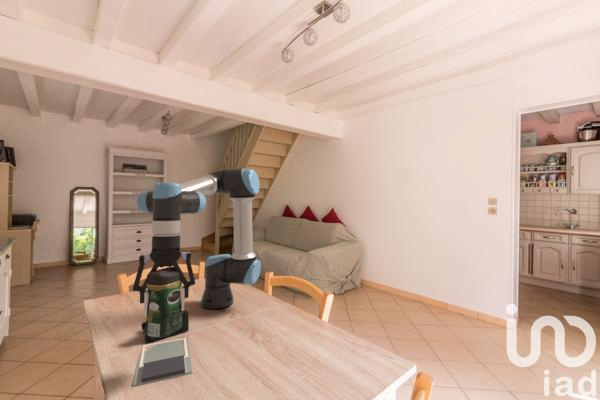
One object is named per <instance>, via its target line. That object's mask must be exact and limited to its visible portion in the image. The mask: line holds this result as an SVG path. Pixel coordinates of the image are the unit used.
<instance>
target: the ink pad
mask: <svg viewBox="0 0 600 400" xmlns="http://www.w3.org/2000/svg"><path fill="white" fill-rule="evenodd" d="M184 373H187V371H186V361H185V358H184V355H182V356H177V357H172V358H167V359H162V360H158V361H153V362H148V363H144V366H143V367H142V372H141V378H140V383H145V382H149V381H153V380H158V379H162V378H166V377H171V376H175V375H179V374H184Z"/></svg>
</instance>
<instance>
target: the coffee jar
mask: <svg viewBox="0 0 600 400" xmlns="http://www.w3.org/2000/svg"><path fill="white" fill-rule="evenodd" d="M181 271H182V272H183V270H182V269H181ZM146 278H147V284H146V286H147V288H146V290H148V310H147V316H146V318H145V322H146V329H145V334H146V335H147V336H148V337H151V338H164V337H166V336H169V335H171V334H173V333H174V332H176V331H178V330H179V329H180V328H181V327H182V311H181V289H182V286H183V283H182V281H181V279H180V273H179V272H176V270H175V269H174V267H173V266H172V267H163V268H161V269H157V270H156V271H153V272H150V271H149V272H148V273H147V275H146ZM145 334H144V335H145Z"/></svg>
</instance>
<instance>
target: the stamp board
mask: <svg viewBox="0 0 600 400" xmlns="http://www.w3.org/2000/svg"><path fill="white" fill-rule="evenodd" d="M189 343H190V342H189V338H188V337H183V338H178V339H177V338H176V339H172V340H171V339H170V340H167V341H160V342H159V341H158V342H153V343H149V344H145V345H142V349H141V354H139V355H138V356H137V357H138V358H137V362H136V368H135V373H134V378H133V382H132V387H136V386H137V387H138V386H141V385H146V384H150V383H155V382H160V381H164V380H168V379H173V378H178V377H182V376H187V375H191V374H193V365H192V360H191V359H192V357H191V351H190V344H189ZM151 346H152V347H151ZM146 347H150V348H149V349H147V350H146ZM182 355H184V358H185V361H186V371H187V373H184V374H179V375H175V376H171V377H166V378H162V379H158V380H153V381H149V382H145V383H140V378H141V372H142V367H143V366H144V363H148V362H153V361H158V360H162V359H167V358H172V357H177V356H182Z"/></svg>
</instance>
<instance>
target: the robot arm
mask: <svg viewBox="0 0 600 400" xmlns="http://www.w3.org/2000/svg"><path fill="white" fill-rule="evenodd" d="M260 187H261V186H260V179H259V176H258V173H257V172H256V171H255V170H254V169H252V168H224V169H223V168H222V169H218V170H214V171H211V172H208V173H204V174H202V175H201V176H200V177H198V178H196V179H192V180H188V181H185V182H181V183H178V182H166V181H165V182H164V181H163V182H156V183H154V184H153V190H144V191H141V192H140V193H139V194H138V195H137V197H136V205H137V208H138V210H139V211H140V212H142V213H149V214H152V220H151V221H152V222H151V225H152V226H151V234H152V235H153V236H152V237H151V251H150V253H148V254H144V253H142V254H140V255H139V257H138V261H139V265H138V269H137V272H136V275H135V279H134V282H133V286H132V291H133V292H138V293H139V303H140V304H143V308H144V309H143V316H144V317H147V310H148V289H147V286H146V284H147V277H146V278H145V280H144V281H143V283H142V285H140V283H141V279H142V275H143V272H144V268H145V265H146V263H147V262H148V261H149V259H151V260H152V262H153V265H152V268H151V269H150V271H149V272H153V271H156V270H159V268H168V267H174V269H175V270H176V272H179V273H180V279H181V281H182V285H181V311H184V310H185V299H188V298H189V294H190V293H189V291H190V290H189V289H190V287H191V286H194V285H195V284H196V280H195V276H194V273H193V272H194V271H193V267H192V262H191V258H192V253H191V252H190V251H187V252H185V251H182V250H181V235H179V234H181V221H182V220H181V215H190V214H191V215H195V214H199V213H200V214H201V213H202V212H203V211H204V210H205V209H206V206H207V199H206V197H205V196H212V195H215V194H221V195H222V194H223V195H224V194H225V195H226V194H227V195H229V199H230V200H231V201H232V206H233V207H232V208H233V209H232V211H233V214H232V215H233V246H234V247H233V248H234V249H233V251H234V252H233V253H232V254H231V253H230V254H229V253H223V254H216V255H210V256H209V257H207V258H206V260H205V266H204V268H205V271H204V272H205V273H204V274H205V275H204V277H205V278H204V280H205V281H204V290H203V294H202V296H201V299H200V305H201V306H202V307H201V308H204V309H210V310H211V309H212V310H217V309H223V308H226V307H229V306H231V305H233V304H234V300H235V299H234V294H233V291H232V289H231V288H232V287H231V284H235V285H236V284H237V285H243V286H244V285H245V286H246V285H248V286H249V285H251V286H252V285H254V284H255V283H257V281H258V280H259V277H260V275H261V269H262V263H261V260H260V259H257V254H256V253H255V252H254V246H253V245H254V243H253V241H254V240H253V201H254V200H255V199H256V195H257V194H258V193H259V192H260ZM181 257H182V259H183V260H184V261H185V264H186V268H187V272H188V277H189V280H187V278H186V276H185V274H184V273H183V270H182V268H181V267H180V265H179V263H178V260H179V259H180V258H181ZM181 270H182V271H181Z"/></svg>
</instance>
